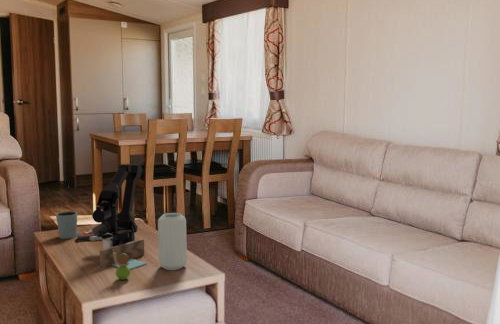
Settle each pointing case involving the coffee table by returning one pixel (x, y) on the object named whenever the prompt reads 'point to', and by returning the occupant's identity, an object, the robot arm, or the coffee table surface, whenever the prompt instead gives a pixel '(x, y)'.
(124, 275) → the snail figurine
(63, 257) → the coffee table surface
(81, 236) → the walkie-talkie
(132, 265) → the teal mat
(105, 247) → the white rectangular block
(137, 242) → the walnut screen
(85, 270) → the coffee table surface
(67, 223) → the grey-blue cup
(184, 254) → the vase
